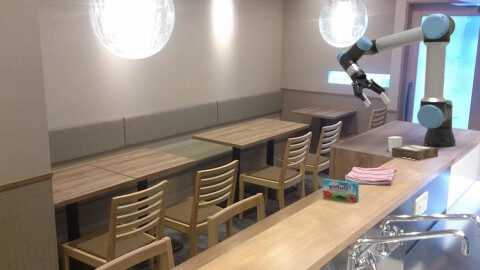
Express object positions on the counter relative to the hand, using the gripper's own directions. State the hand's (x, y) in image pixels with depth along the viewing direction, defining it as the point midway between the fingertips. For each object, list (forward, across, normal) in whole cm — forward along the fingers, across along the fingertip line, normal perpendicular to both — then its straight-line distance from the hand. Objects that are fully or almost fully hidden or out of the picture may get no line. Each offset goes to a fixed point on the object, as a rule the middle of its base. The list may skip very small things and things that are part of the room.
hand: (378, 104), depth 232 cm
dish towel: (+45, +48, +12) cm, 66 cm away
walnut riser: (+34, +4, +2) cm, 34 cm away
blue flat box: (+55, +77, +22) cm, 97 cm away
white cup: (+23, 0, -9) cm, 25 cm away
